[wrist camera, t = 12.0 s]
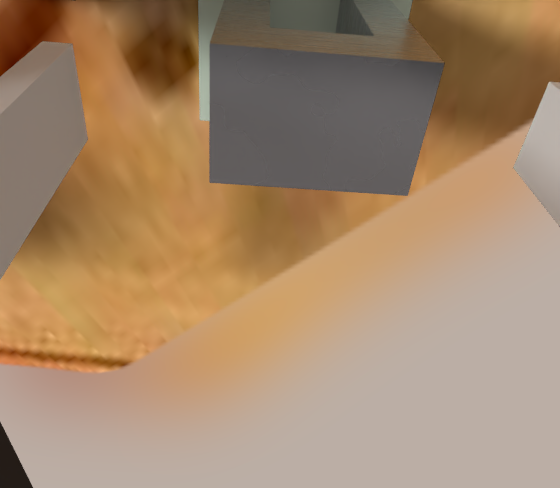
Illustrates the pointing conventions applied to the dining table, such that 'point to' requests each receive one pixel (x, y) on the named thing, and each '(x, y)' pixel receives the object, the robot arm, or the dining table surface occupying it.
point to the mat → (283, 14)
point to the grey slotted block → (319, 99)
